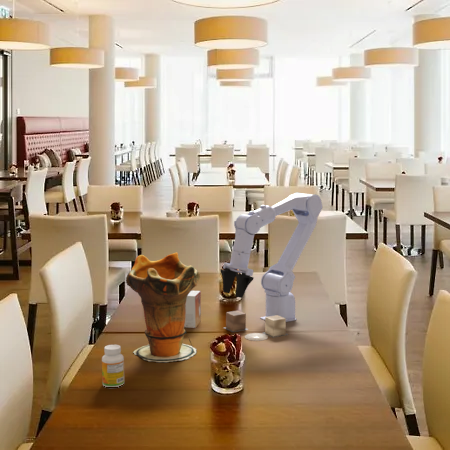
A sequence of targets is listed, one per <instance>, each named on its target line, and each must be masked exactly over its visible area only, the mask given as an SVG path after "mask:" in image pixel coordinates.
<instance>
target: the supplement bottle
mask: <svg viewBox="0 0 450 450" xmlns="http://www.w3.org/2000/svg"><path fill="white" fill-rule="evenodd" d="M103 349H104V351H103V352H104V355H103V356H101V373H102V374H101V378H102V379H101V381H102V382H101V383H102V386H103V387H104V386H105V387H104V388H106V387H118V388H120V387H119V386H121V385H123V384H124V385H125V362H124V361H125V356H124V355H123V354H122V352H121V351H122V348H121V345H119V344H108V345H105V346H104V348H103ZM124 385H123V386H124ZM121 387H122V386H121Z"/></svg>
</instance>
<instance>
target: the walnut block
mask: <svg viewBox="0 0 450 450" xmlns="http://www.w3.org/2000/svg"><path fill="white" fill-rule="evenodd" d="M246 319H247V316H246V313H245V312H243V311H240V310H232V311H226V312H225V327H226V328H228V329H230V330H232V331H238V330H244V329H246V328H247V327H246V326H247V325H246V324H247V320H246ZM244 331H245V330H244ZM238 332H239V331H238Z"/></svg>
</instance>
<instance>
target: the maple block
mask: <svg viewBox="0 0 450 450" xmlns="http://www.w3.org/2000/svg"><path fill="white" fill-rule="evenodd" d="M264 321H265V322H264V328H265V330H264V332H265V333H267V334H269V335H271V336H273V337H274V336H279V335H285V334H287V332H286V331H287V330H286V327H287V326H286V324H287V322H286V318H283V317H281V316H278V315H275V316H269V317H265V320H264ZM285 336H286V335H285ZM274 338H275V337H274Z"/></svg>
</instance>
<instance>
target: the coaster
mask: <svg viewBox="0 0 450 450" xmlns="http://www.w3.org/2000/svg"><path fill="white" fill-rule="evenodd" d="M244 338H245V339H246V340H249V341H253V342H258V341H259V342H260V341H265V340H268V338H269V336H268V335H266V334H263V333H261V332H260V333H259V332H253V333H252V332H251V333H248V334H245V335H244Z"/></svg>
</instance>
